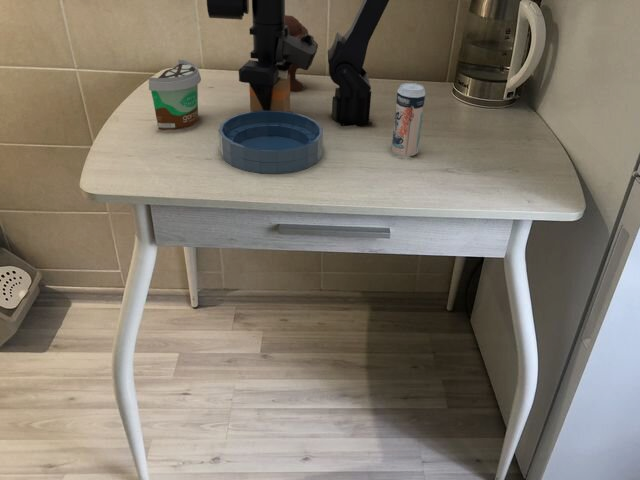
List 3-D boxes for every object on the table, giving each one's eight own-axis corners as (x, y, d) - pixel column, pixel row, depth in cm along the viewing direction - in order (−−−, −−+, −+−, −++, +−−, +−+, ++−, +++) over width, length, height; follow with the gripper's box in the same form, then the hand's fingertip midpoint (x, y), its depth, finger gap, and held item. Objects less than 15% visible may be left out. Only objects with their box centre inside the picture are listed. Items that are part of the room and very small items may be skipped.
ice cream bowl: (315, 97, 127) (317, 23, 118) (262, 93, 126) (260, 19, 118) (318, 81, 135) (320, 10, 127) (269, 77, 135) (268, 6, 126)
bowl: (304, 130, 112) (305, 107, 109) (335, 170, 99) (337, 145, 97) (212, 138, 106) (210, 114, 104) (232, 182, 93) (231, 155, 91)
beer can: (386, 148, 108) (393, 82, 101) (410, 145, 109) (418, 80, 102) (398, 159, 104) (406, 92, 97) (422, 156, 106) (431, 90, 99)
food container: (187, 139, 105) (181, 83, 99) (155, 134, 106) (147, 78, 100) (215, 114, 115) (211, 62, 109) (185, 110, 116) (179, 58, 110)
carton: (258, 110, 118) (256, 64, 113) (290, 114, 118) (290, 67, 112) (250, 120, 114) (248, 72, 109) (284, 124, 114) (283, 76, 108)
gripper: (301, 39, 97) (300, 129, 106) (323, 14, 112) (321, 95, 122) (235, 32, 98) (240, 122, 107) (266, 8, 113) (267, 88, 122)
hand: (270, 106), depth 115 cm, fingers closed on carton, 5 cm apart
